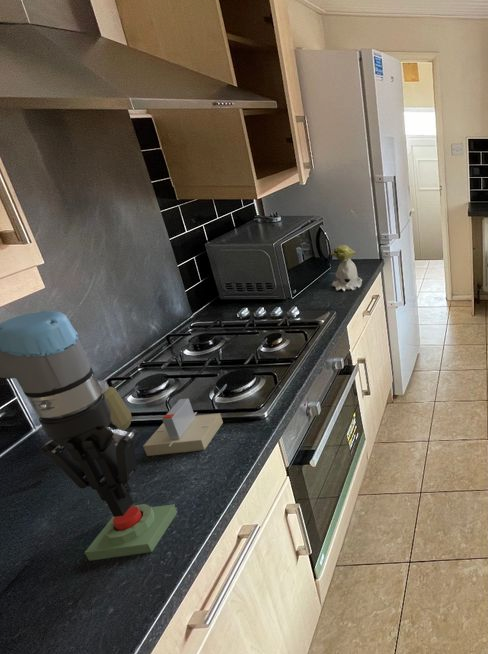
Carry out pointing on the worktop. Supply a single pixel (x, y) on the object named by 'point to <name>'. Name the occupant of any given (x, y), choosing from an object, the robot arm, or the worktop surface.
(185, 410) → the grey rectangular block
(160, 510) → the button box
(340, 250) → the white green figurine
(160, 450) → the switch base
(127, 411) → the squeeze bottle
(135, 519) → the button
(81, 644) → the worktop surface
